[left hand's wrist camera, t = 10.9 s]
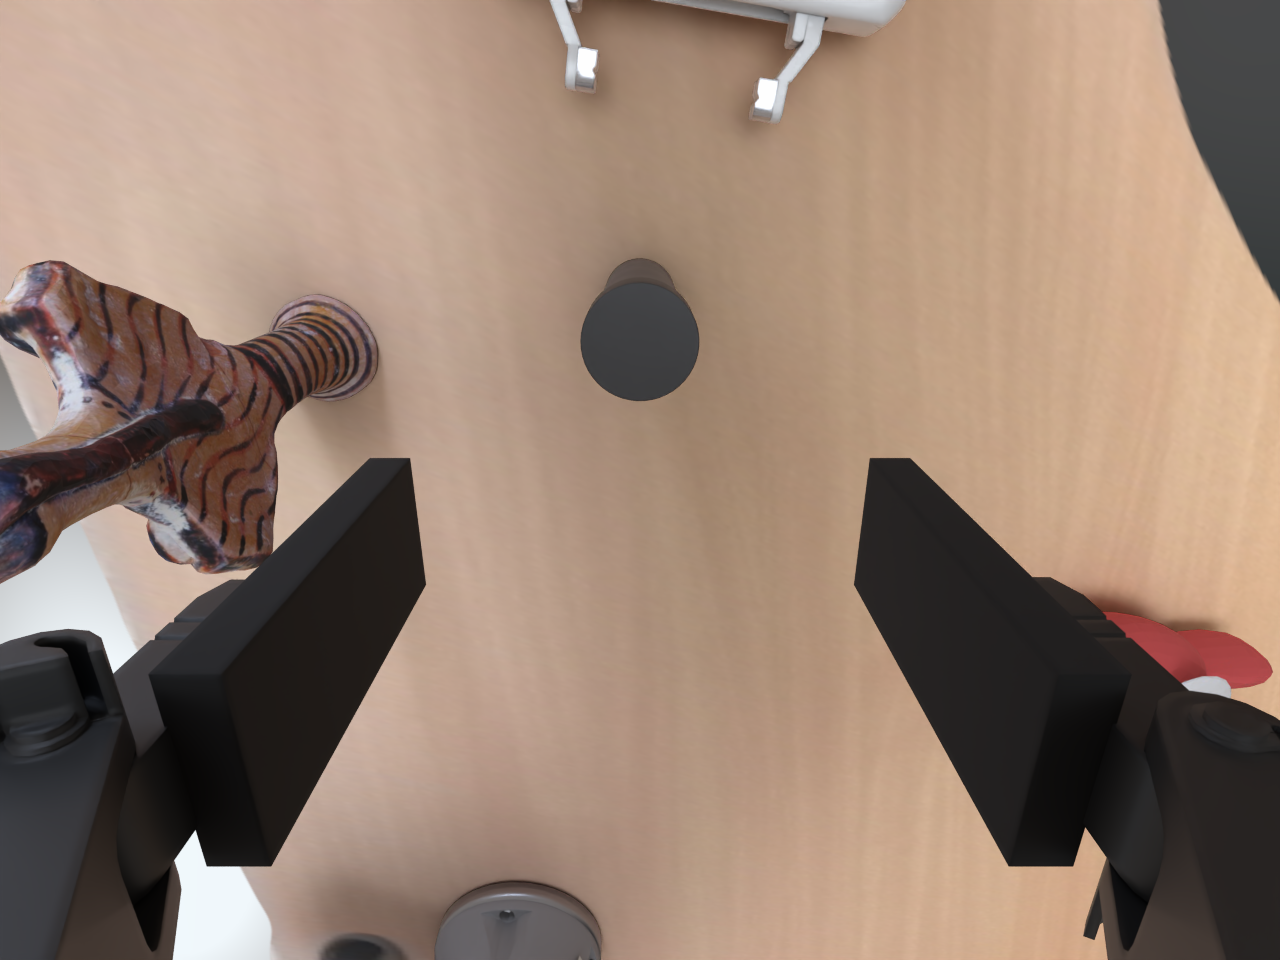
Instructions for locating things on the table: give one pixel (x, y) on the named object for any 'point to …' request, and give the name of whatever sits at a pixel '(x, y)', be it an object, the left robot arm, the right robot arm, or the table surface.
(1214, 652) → the toy
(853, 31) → the right robot arm
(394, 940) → the table surface
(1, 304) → the figurine
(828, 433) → the table surface
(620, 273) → the dark grey bottle
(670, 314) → the lid
